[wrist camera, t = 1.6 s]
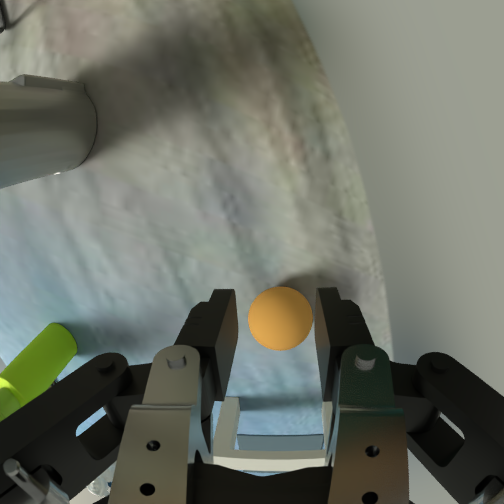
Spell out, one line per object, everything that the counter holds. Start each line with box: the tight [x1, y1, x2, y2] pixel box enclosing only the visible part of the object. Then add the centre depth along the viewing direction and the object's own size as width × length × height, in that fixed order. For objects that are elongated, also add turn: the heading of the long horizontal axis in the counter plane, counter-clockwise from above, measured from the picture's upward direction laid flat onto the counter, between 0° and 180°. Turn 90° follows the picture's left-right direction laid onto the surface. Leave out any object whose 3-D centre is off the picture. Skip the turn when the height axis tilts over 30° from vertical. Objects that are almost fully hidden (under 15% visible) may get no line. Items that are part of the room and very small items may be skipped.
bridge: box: [213, 397, 333, 471], centre depth 31 cm, size 3×15×10 cm, turn 93°
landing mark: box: [237, 434, 324, 473], centre depth 41 cm, size 13×13×1 cm
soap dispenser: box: [0, 323, 77, 422], centre depth 27 cm, size 6×7×20 cm
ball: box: [248, 287, 313, 351], centre depth 28 cm, size 6×6×6 cm
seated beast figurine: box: [86, 461, 117, 496], centre depth 41 cm, size 10×9×12 cm
